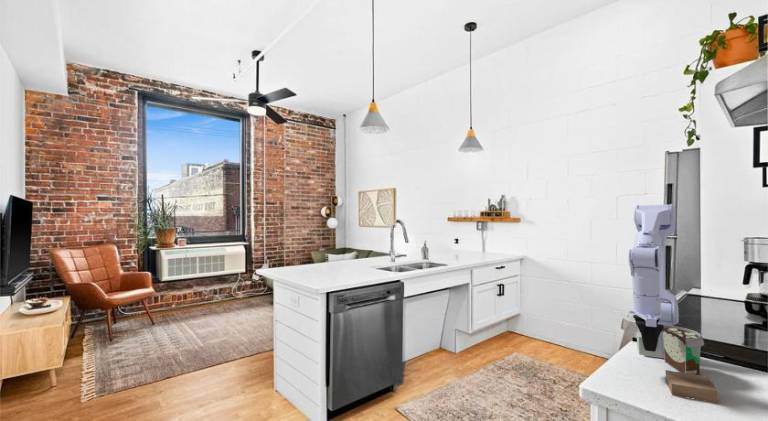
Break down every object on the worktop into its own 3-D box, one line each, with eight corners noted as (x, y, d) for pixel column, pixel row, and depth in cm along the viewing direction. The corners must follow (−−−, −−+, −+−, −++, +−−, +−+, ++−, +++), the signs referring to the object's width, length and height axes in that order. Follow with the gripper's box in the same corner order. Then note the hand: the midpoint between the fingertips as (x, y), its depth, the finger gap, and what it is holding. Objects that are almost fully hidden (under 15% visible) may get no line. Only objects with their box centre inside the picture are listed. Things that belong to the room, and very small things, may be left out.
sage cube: (637, 348, 96) (636, 331, 96) (658, 351, 94) (657, 333, 94) (639, 354, 92) (638, 336, 92) (661, 357, 90) (660, 339, 90)
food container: (718, 381, 89) (716, 340, 89) (689, 379, 90) (687, 339, 90) (687, 361, 101) (685, 325, 101) (661, 360, 102) (660, 324, 102)
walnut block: (666, 382, 90) (665, 370, 90) (708, 389, 86) (707, 376, 86) (672, 396, 83) (671, 383, 83) (718, 405, 79) (718, 391, 79)
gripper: (625, 287, 102) (627, 336, 101) (630, 298, 89) (632, 354, 89) (656, 289, 98) (659, 340, 98) (666, 301, 86) (668, 359, 85)
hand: (648, 347), depth 93 cm, fingers closed on sage cube, 4 cm apart
